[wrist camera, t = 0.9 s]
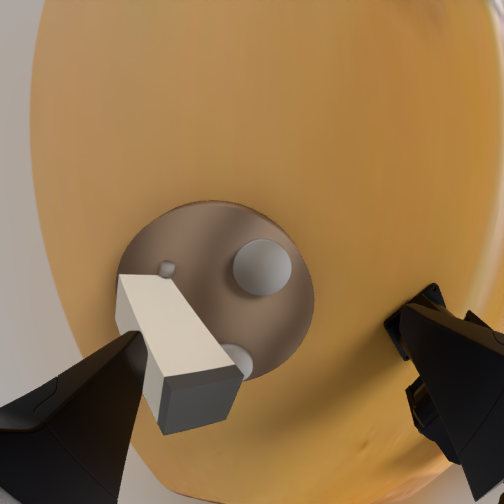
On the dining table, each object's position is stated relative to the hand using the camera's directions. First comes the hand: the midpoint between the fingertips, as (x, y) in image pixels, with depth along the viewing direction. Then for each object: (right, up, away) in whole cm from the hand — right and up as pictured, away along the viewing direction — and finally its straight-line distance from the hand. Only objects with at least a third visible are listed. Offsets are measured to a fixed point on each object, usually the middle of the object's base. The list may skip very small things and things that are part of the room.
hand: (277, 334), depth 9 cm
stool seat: (-4, -1, +14) cm, 14 cm away
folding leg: (-9, -1, +10) cm, 13 cm away
